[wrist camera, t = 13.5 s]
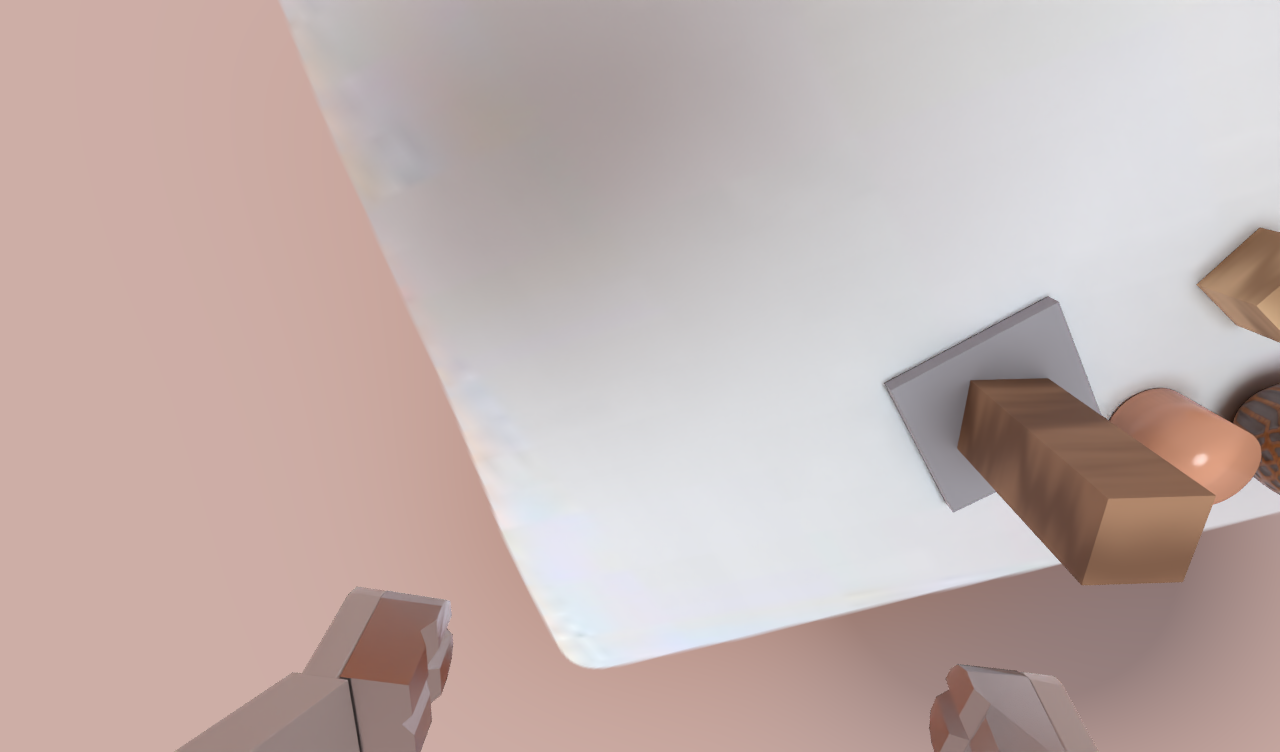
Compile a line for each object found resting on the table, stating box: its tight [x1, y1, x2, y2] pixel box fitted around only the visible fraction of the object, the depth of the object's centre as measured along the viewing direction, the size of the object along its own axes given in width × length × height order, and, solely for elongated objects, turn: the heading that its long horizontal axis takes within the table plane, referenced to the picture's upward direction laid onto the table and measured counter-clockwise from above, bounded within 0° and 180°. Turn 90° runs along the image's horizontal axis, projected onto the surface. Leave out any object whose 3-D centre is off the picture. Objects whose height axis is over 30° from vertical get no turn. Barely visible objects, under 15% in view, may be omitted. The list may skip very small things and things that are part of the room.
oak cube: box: [1197, 228, 1280, 342], centre depth 36 cm, size 4×4×4 cm
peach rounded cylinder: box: [1110, 388, 1261, 504], centre depth 39 cm, size 5×5×5 cm
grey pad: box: [885, 297, 1101, 512], centre depth 40 cm, size 10×10×1 cm
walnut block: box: [957, 378, 1216, 585], centre depth 34 cm, size 4×4×12 cm
